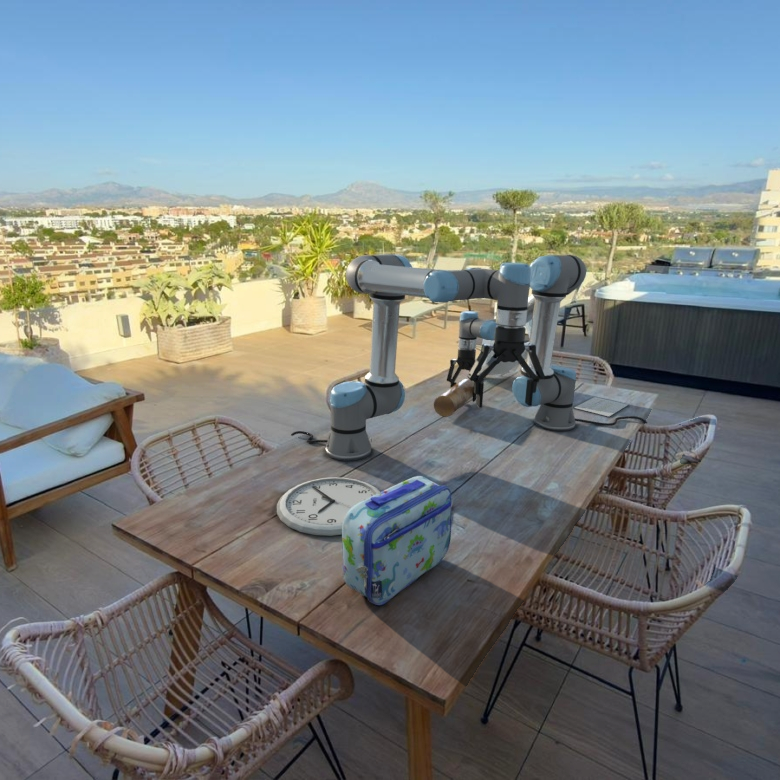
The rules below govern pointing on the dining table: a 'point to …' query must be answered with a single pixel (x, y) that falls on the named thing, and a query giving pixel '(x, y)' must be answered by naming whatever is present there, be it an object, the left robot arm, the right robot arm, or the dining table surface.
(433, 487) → the lunch box
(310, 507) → the wall clock
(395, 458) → the dining table surface
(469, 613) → the dining table surface
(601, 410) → the invitation card
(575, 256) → the right robot arm
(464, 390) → the rod
